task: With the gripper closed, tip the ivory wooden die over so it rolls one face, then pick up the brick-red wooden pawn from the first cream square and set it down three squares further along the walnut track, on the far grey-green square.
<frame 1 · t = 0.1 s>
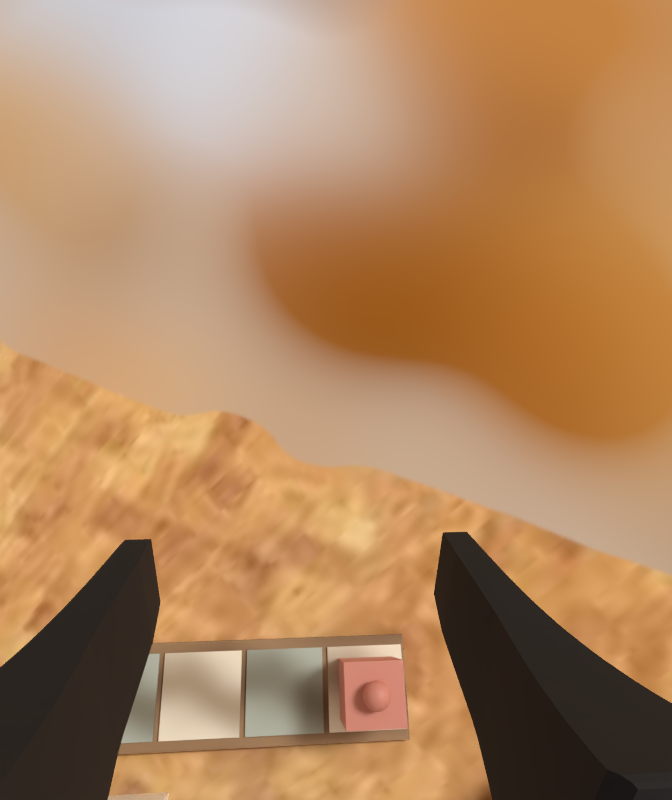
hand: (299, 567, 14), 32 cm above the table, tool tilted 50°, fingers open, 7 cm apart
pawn: (366, 687, 41), point 1 cm above the table, touching track
track: (244, 691, 41), on the table
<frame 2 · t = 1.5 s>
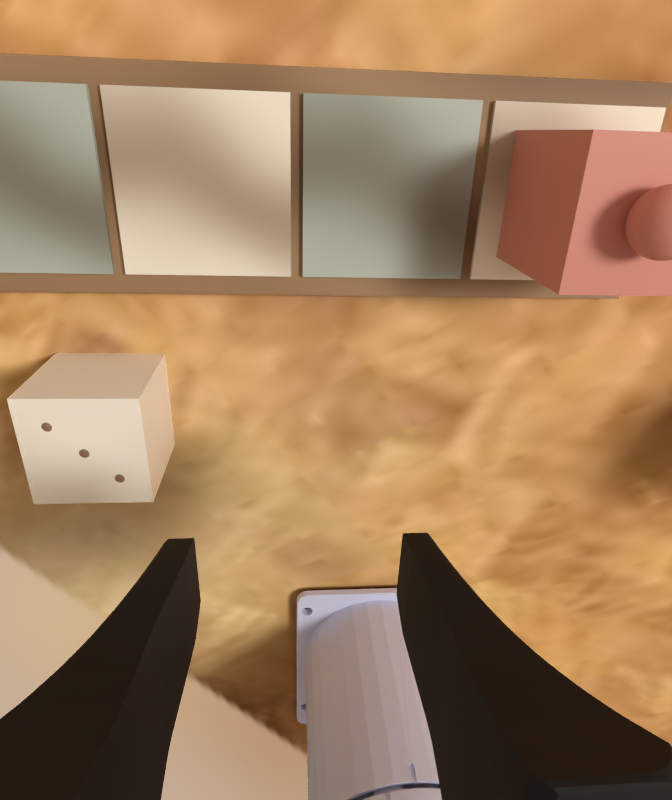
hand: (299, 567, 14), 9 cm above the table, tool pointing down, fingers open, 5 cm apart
die: (118, 400, 22), on the table
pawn: (563, 198, 19), point 1 cm above the table, touching track
track: (296, 188, 19), on the table
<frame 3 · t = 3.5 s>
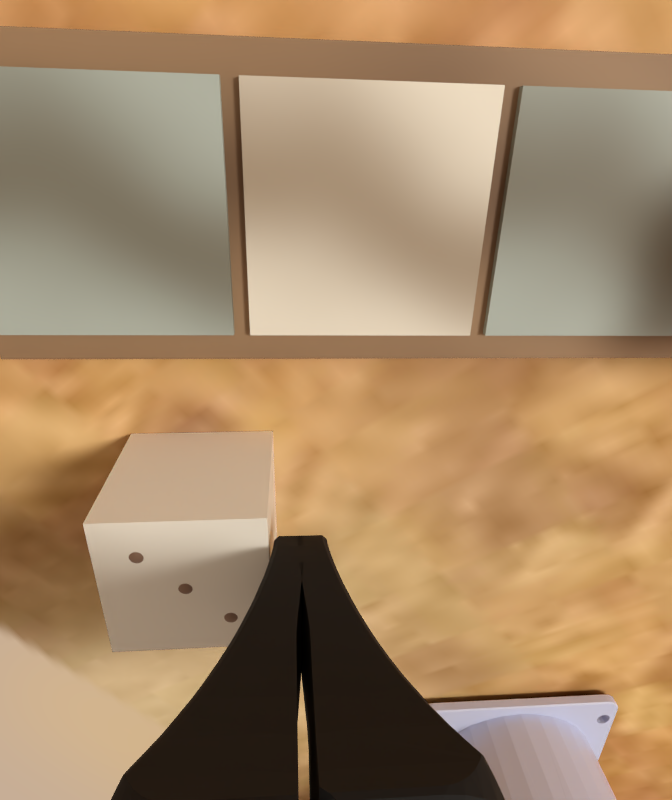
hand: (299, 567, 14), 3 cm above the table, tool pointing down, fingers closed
die: (208, 490, 17), on the table, touching gripper
track: (483, 217, 14), on the table
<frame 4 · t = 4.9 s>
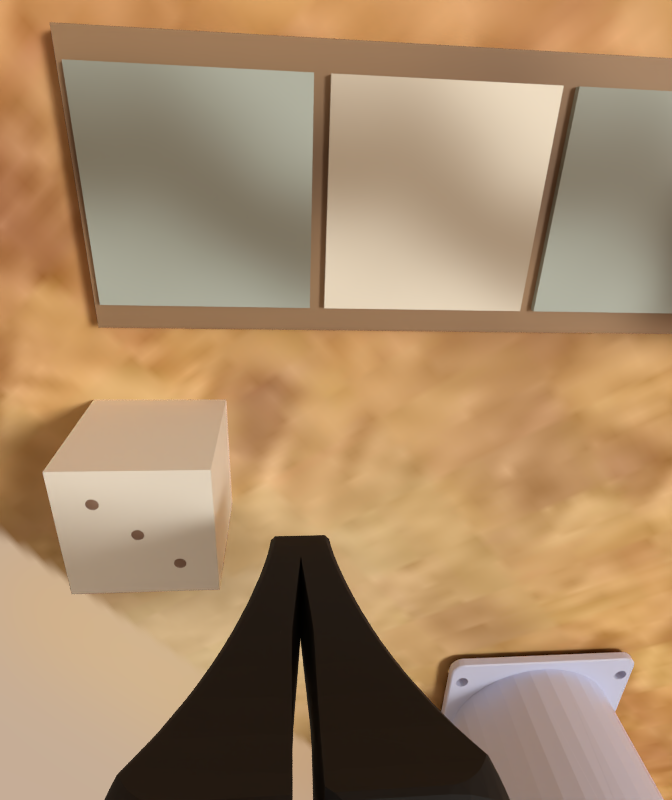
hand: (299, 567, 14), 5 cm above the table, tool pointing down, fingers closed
die: (167, 453, 18), on the table
track: (535, 204, 15), on the table
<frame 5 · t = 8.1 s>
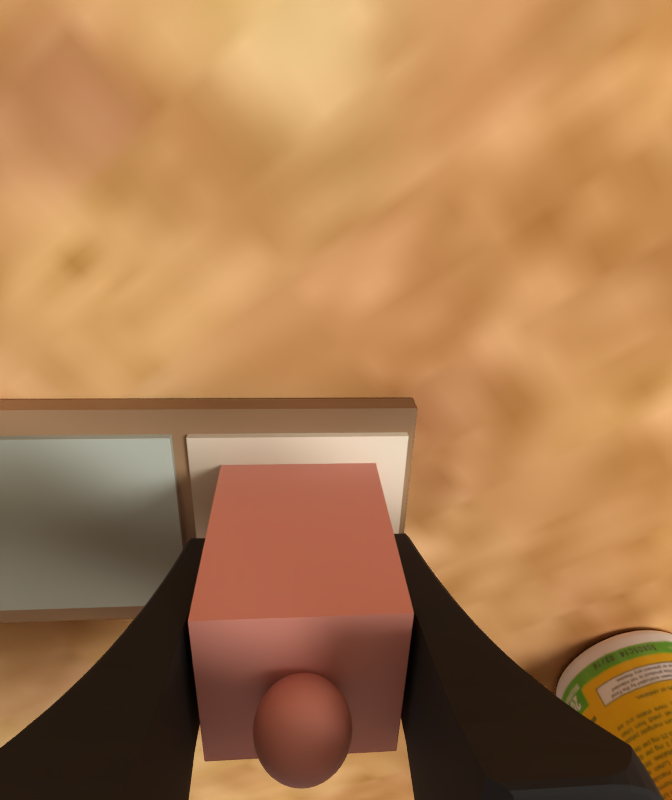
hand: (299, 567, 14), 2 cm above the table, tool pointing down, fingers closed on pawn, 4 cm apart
supplement bottle: (620, 672, 20), on the table
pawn: (299, 525, 15), point 1 cm above the table, touching gripper, track
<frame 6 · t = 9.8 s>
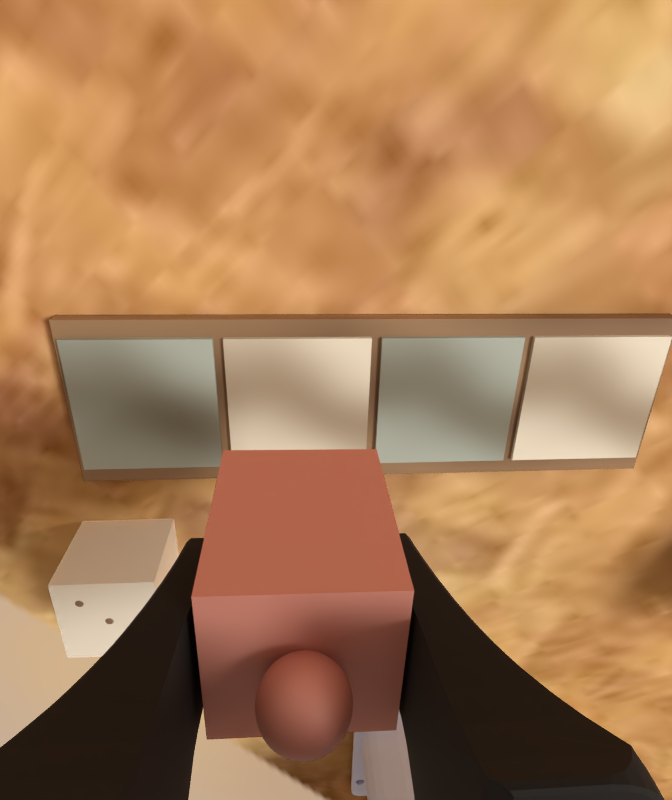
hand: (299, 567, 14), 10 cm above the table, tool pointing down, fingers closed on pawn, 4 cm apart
die: (135, 552, 26), on the table
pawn: (300, 511, 15), point 8 cm above the table, touching gripper
track: (370, 395, 23), on the table
when the fingers open (3 cm above the table, at t = 11.9 s): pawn stays where it is, resting on track.
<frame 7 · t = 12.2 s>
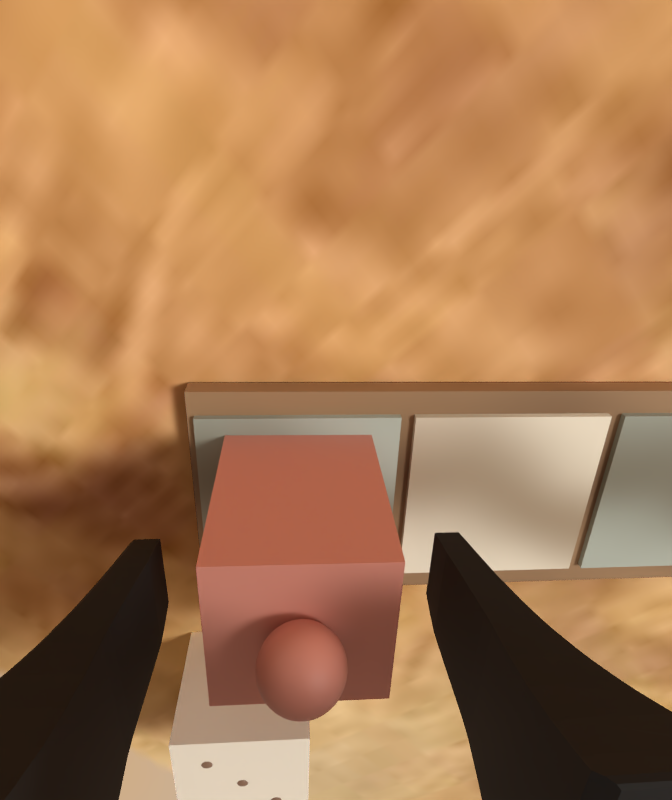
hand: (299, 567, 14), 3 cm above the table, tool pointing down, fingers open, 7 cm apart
die: (251, 667, 20), on the table
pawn: (298, 495, 16), point 1 cm above the table, touching track
track: (582, 482, 17), on the table
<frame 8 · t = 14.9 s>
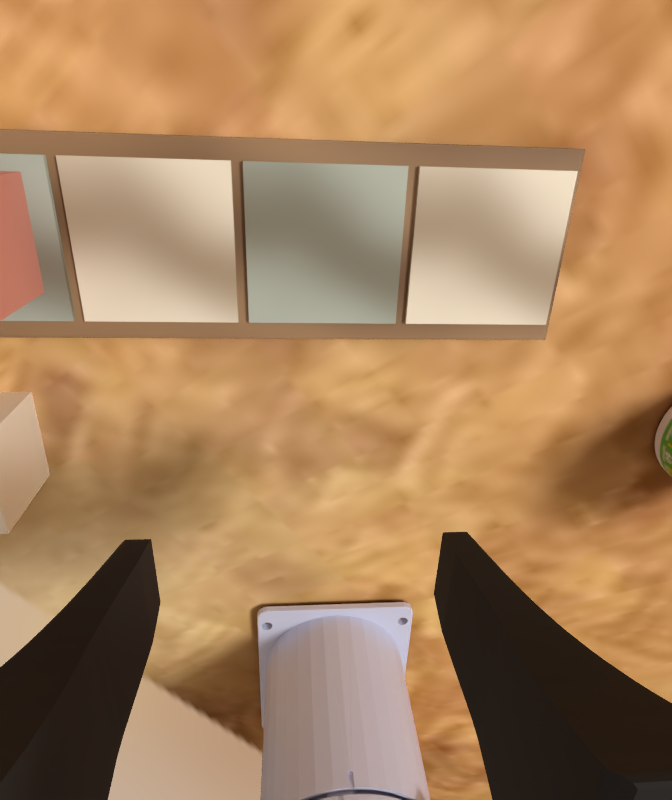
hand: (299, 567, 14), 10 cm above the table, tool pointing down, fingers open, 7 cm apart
track: (242, 242, 20), on the table
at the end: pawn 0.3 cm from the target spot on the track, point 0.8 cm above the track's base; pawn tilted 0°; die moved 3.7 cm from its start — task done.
